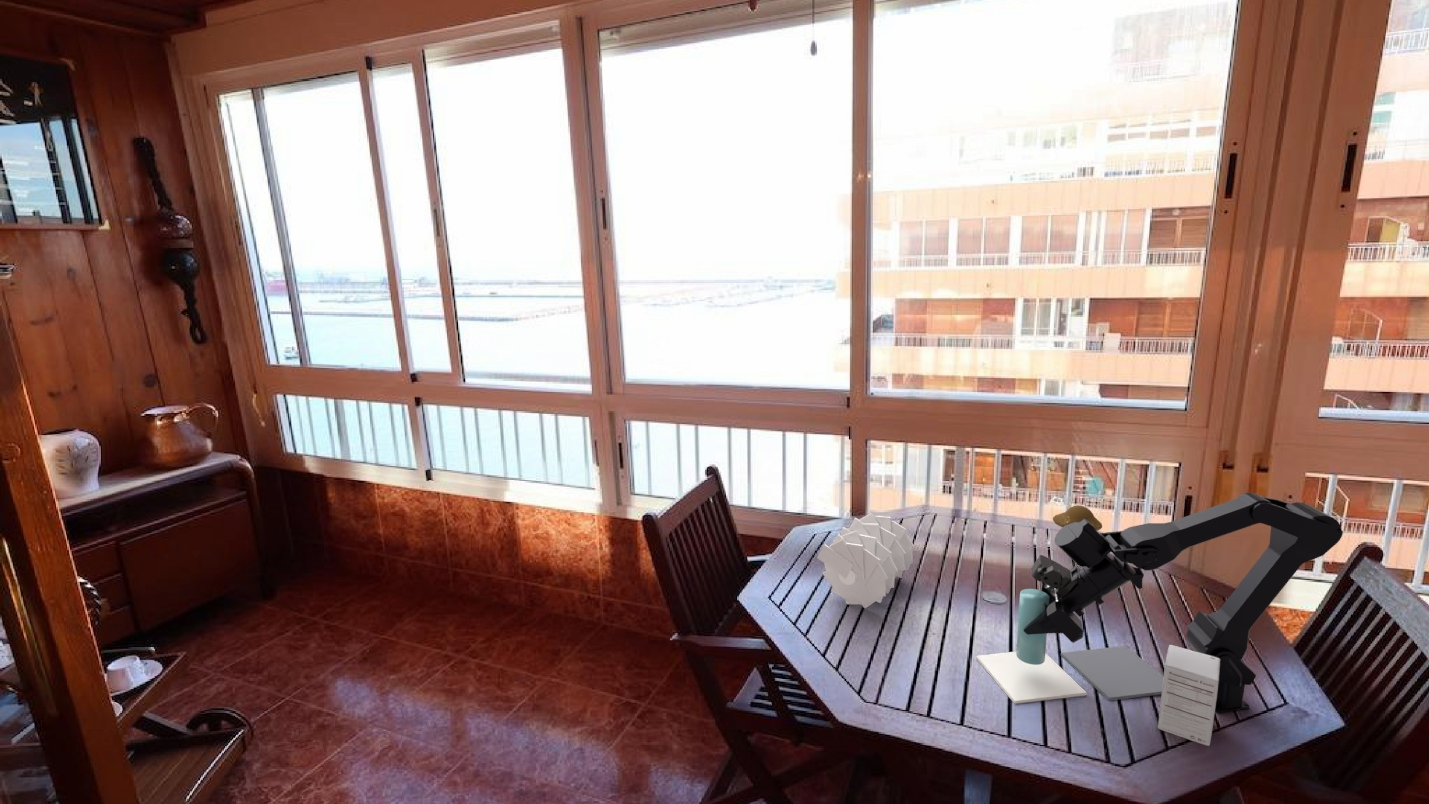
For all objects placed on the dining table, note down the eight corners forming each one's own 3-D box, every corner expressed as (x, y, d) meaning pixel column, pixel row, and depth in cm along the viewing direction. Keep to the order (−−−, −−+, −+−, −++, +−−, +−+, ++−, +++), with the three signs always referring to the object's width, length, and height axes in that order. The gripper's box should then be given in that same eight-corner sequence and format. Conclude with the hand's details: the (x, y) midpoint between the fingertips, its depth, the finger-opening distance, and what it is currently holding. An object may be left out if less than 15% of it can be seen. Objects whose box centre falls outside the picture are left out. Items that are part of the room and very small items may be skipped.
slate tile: (1179, 692, 121) (1179, 689, 121) (1108, 700, 120) (1109, 697, 120) (1124, 648, 135) (1125, 645, 135) (1060, 655, 134) (1061, 652, 133)
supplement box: (1161, 705, 118) (1169, 642, 115) (1212, 722, 113) (1222, 657, 111) (1155, 729, 113) (1163, 663, 110) (1209, 748, 108) (1219, 680, 105)
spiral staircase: (899, 587, 171) (863, 630, 150) (842, 547, 178) (801, 582, 158) (932, 533, 164) (900, 570, 143) (872, 493, 171) (833, 523, 150)
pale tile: (1086, 695, 122) (1086, 692, 121) (1014, 703, 120) (1014, 700, 120) (1041, 651, 135) (1041, 648, 135) (976, 658, 134) (976, 655, 134)
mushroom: (1053, 548, 180) (1057, 496, 177) (1101, 558, 174) (1106, 504, 170) (1046, 561, 173) (1050, 507, 170) (1096, 571, 166) (1101, 516, 163)
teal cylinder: (1051, 660, 125) (1055, 598, 122) (1031, 667, 124) (1035, 604, 121) (1029, 646, 130) (1033, 586, 127) (1010, 653, 128) (1013, 592, 125)
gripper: (1058, 527, 128) (994, 571, 135) (1066, 570, 112) (992, 617, 118) (1101, 570, 127) (1034, 612, 134) (1116, 620, 110) (1038, 665, 117)
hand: (1024, 624), depth 126 cm, fingers closed on teal cylinder, 5 cm apart
